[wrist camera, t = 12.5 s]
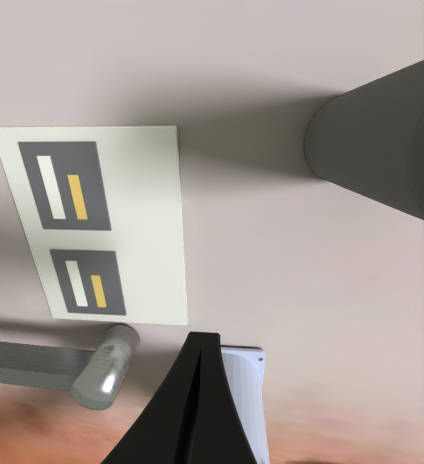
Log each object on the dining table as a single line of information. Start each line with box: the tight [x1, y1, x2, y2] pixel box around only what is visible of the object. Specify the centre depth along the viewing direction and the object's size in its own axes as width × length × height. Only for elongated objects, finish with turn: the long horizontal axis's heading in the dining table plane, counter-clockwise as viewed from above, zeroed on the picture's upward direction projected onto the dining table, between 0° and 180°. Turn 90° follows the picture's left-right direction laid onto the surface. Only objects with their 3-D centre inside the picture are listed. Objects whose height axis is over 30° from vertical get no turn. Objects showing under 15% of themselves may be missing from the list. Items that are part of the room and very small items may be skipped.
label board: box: [0, 126, 188, 325], centre depth 20 cm, size 18×14×1 cm
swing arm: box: [0, 325, 140, 410], centre depth 22 cm, size 23×4×6 cm, turn 87°
